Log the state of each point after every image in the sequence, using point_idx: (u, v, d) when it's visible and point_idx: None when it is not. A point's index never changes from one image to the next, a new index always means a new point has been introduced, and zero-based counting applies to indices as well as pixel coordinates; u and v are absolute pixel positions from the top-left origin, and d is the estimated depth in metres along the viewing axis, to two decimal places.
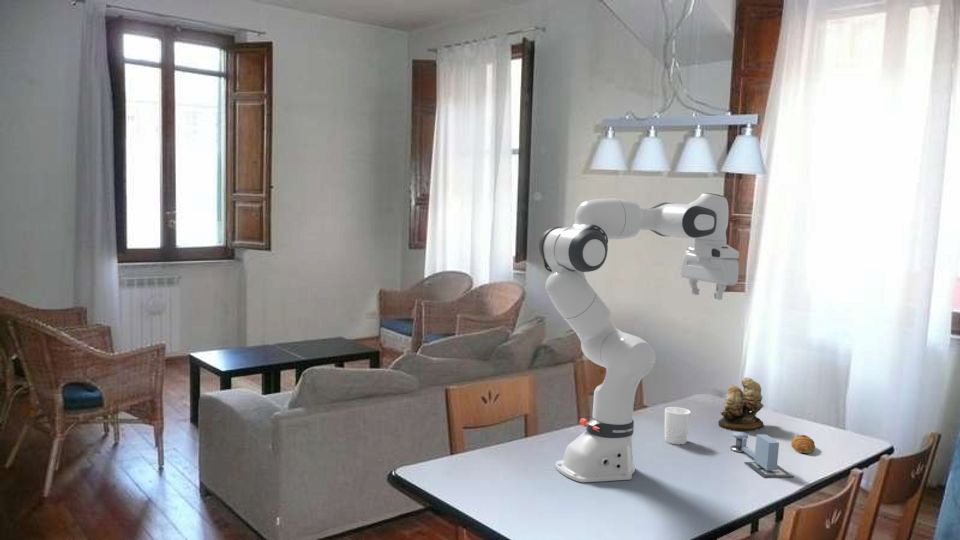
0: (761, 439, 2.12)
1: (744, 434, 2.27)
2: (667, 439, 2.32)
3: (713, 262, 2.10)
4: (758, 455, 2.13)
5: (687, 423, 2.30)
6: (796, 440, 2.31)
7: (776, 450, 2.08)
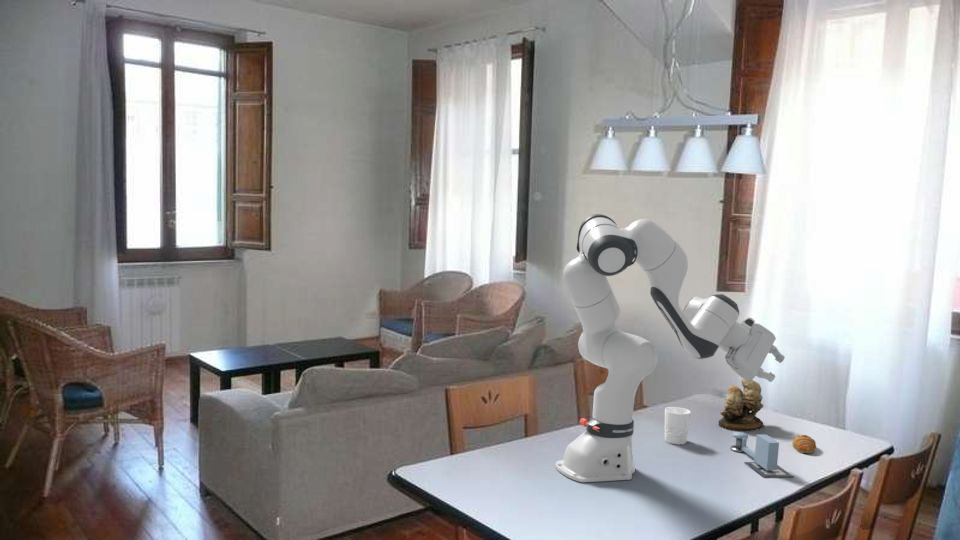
0: (761, 439, 2.12)
1: (744, 434, 2.27)
2: (667, 439, 2.32)
3: (753, 334, 2.08)
4: (758, 455, 2.13)
5: (687, 423, 2.30)
6: (797, 440, 2.31)
7: (776, 450, 2.08)
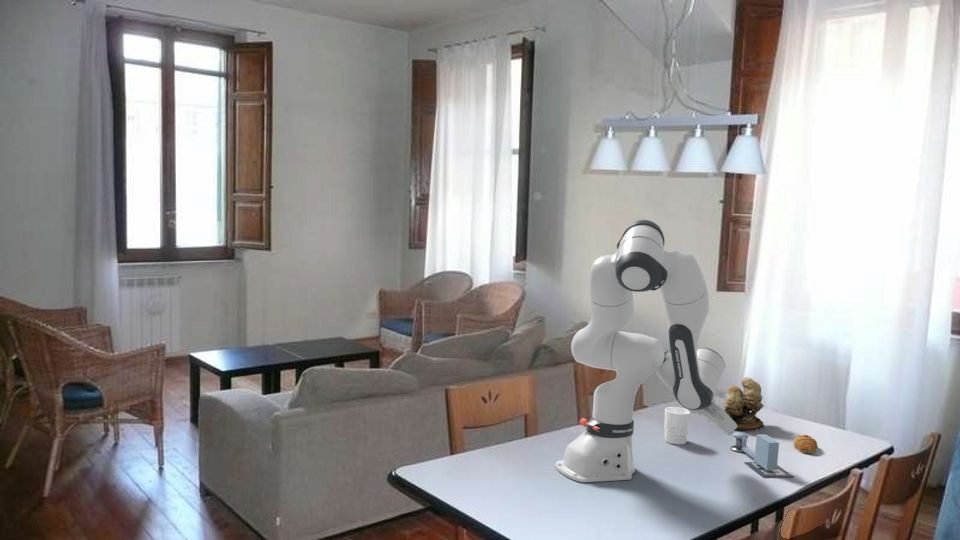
0: (761, 439, 2.12)
1: (744, 434, 2.27)
2: (667, 439, 2.32)
3: None
4: (758, 455, 2.13)
5: (687, 423, 2.30)
6: (799, 440, 2.31)
7: (776, 450, 2.08)
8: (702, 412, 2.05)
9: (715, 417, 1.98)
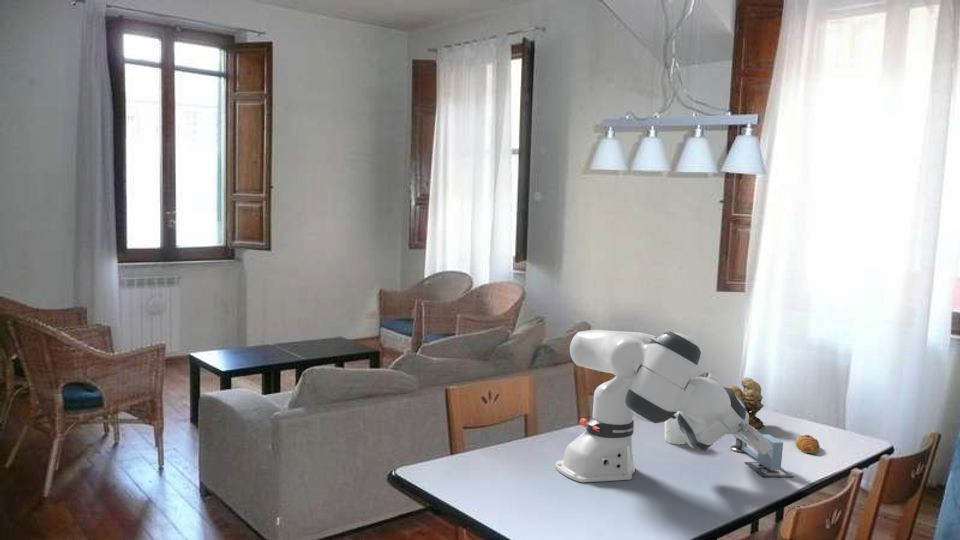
0: None
1: None
2: (667, 439, 2.32)
3: None
4: (761, 455, 2.13)
5: None
6: (801, 440, 2.31)
7: (780, 450, 2.09)
8: (736, 432, 2.08)
9: (751, 439, 2.01)
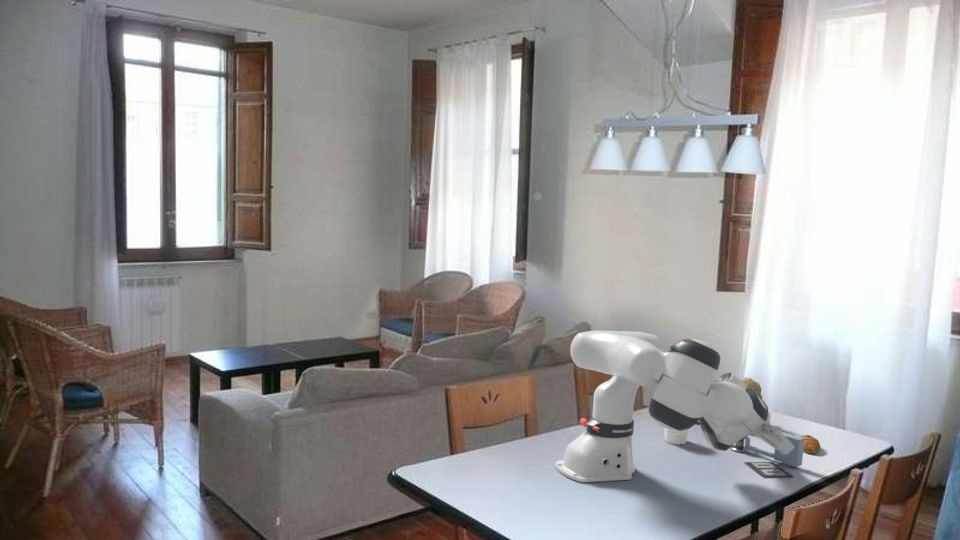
0: None
1: None
2: (667, 439, 2.32)
3: None
4: (780, 453, 2.16)
5: None
6: None
7: (802, 446, 2.13)
8: (758, 432, 2.09)
9: (773, 439, 2.03)
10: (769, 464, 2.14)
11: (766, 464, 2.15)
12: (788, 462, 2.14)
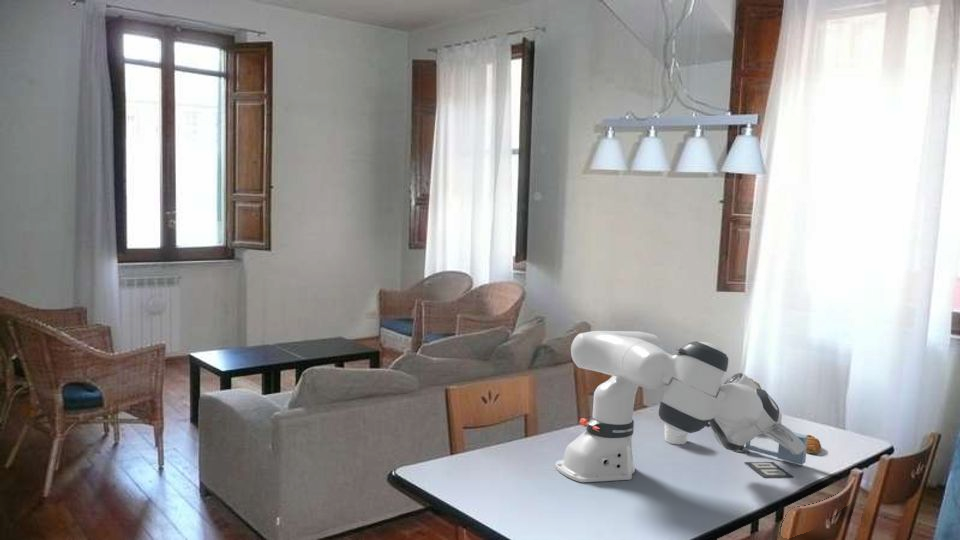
0: None
1: None
2: (667, 439, 2.32)
3: None
4: (785, 452, 2.17)
5: None
6: None
7: (806, 443, 2.15)
8: (769, 432, 2.10)
9: (785, 439, 2.03)
10: (769, 464, 2.14)
11: (766, 464, 2.15)
12: (793, 460, 2.16)
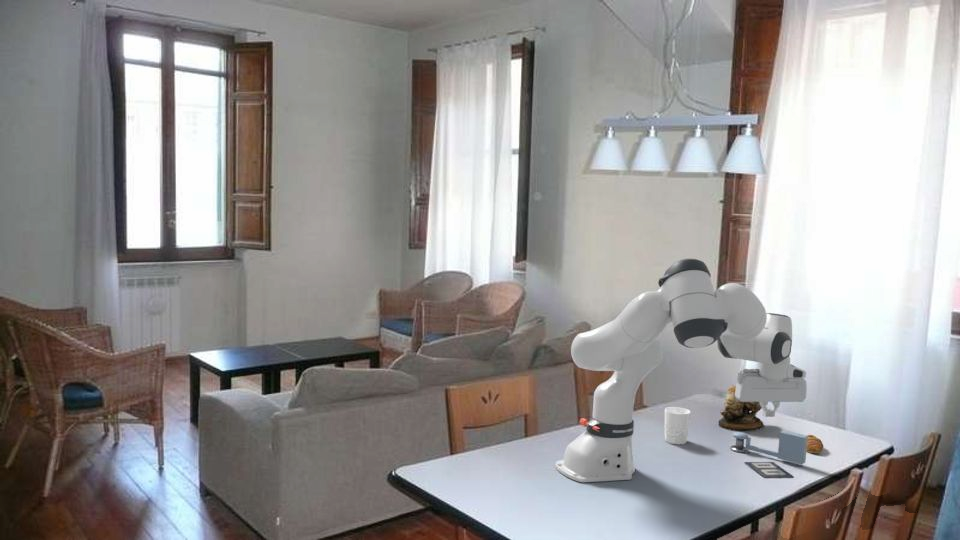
0: (789, 436, 2.16)
1: (742, 433, 2.28)
2: (667, 439, 2.32)
3: (788, 382, 2.10)
4: (785, 452, 2.17)
5: (687, 423, 2.30)
6: None
7: (806, 443, 2.15)
8: None
9: None
10: (769, 464, 2.14)
11: (766, 464, 2.15)
12: (793, 460, 2.16)
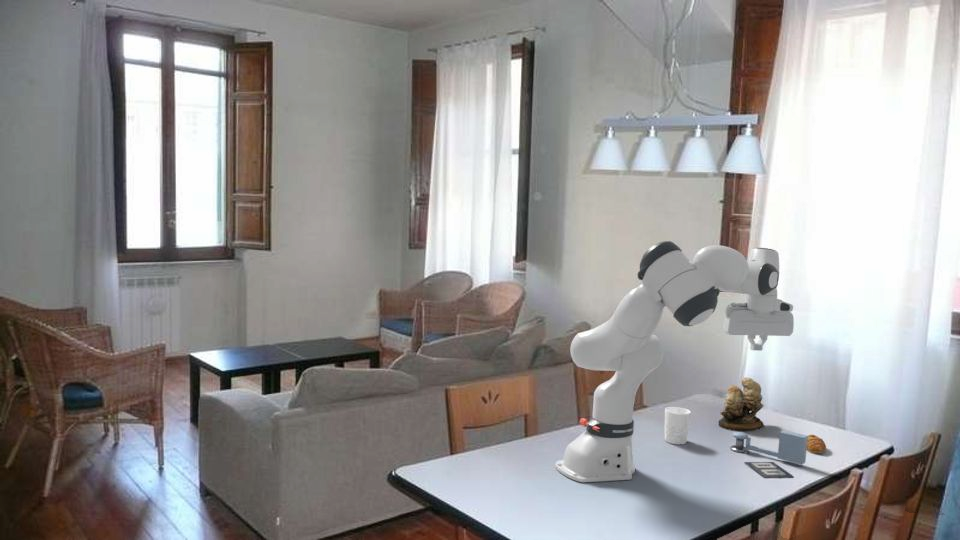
0: (789, 436, 2.16)
1: (742, 433, 2.28)
2: (667, 439, 2.32)
3: (776, 316, 2.13)
4: (785, 452, 2.17)
5: (687, 423, 2.30)
6: (807, 441, 2.31)
7: (806, 443, 2.15)
8: None
9: None
10: (769, 464, 2.14)
11: (766, 464, 2.15)
12: (793, 460, 2.16)
